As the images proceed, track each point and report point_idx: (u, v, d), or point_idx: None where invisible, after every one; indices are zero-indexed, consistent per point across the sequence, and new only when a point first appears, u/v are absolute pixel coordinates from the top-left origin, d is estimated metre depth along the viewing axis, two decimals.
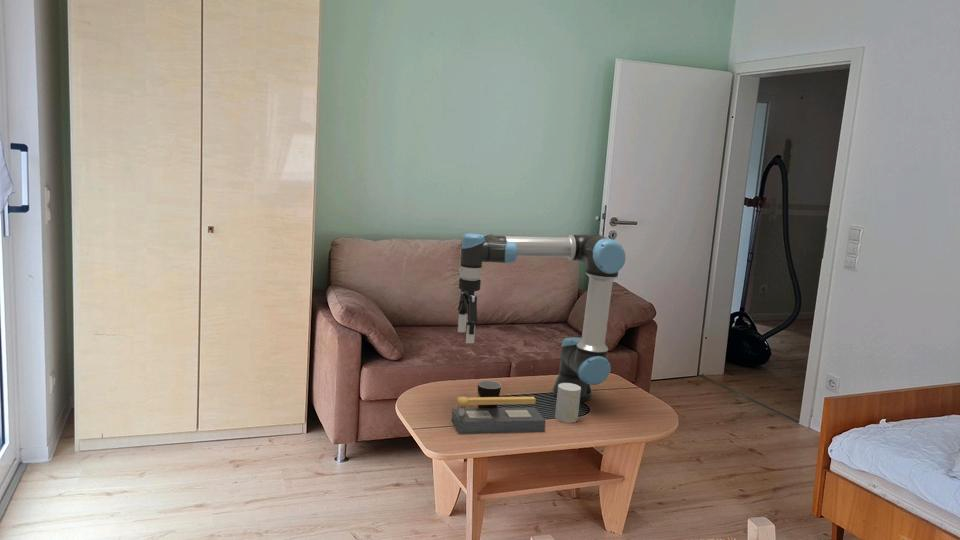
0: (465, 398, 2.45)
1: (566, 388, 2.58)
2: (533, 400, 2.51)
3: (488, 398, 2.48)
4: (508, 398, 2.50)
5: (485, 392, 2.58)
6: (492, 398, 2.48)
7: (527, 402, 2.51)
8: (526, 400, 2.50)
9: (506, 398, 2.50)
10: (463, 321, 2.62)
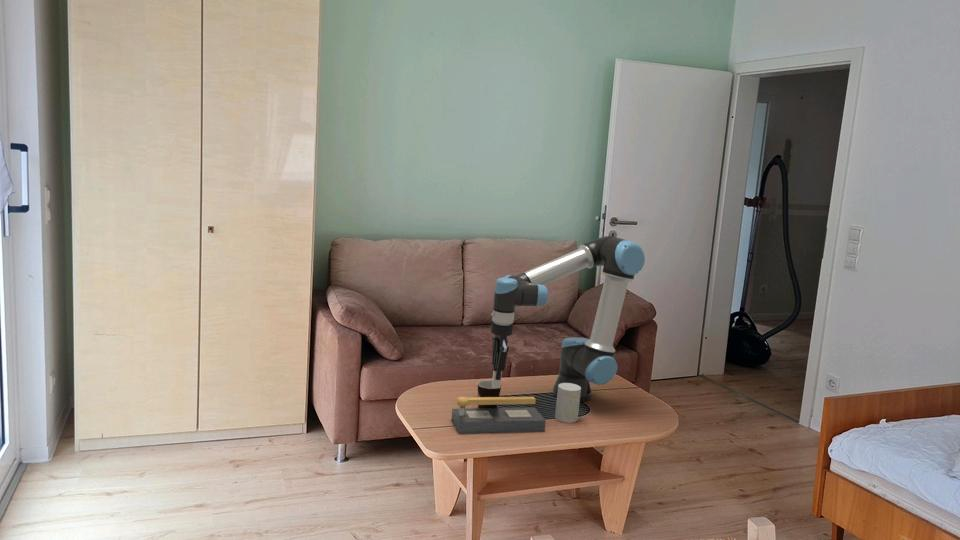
0: (465, 398, 2.45)
1: (566, 388, 2.58)
2: (533, 400, 2.51)
3: (488, 398, 2.48)
4: (508, 398, 2.50)
5: (485, 392, 2.58)
6: (492, 398, 2.48)
7: (527, 402, 2.51)
8: (526, 400, 2.50)
9: (506, 398, 2.50)
10: None
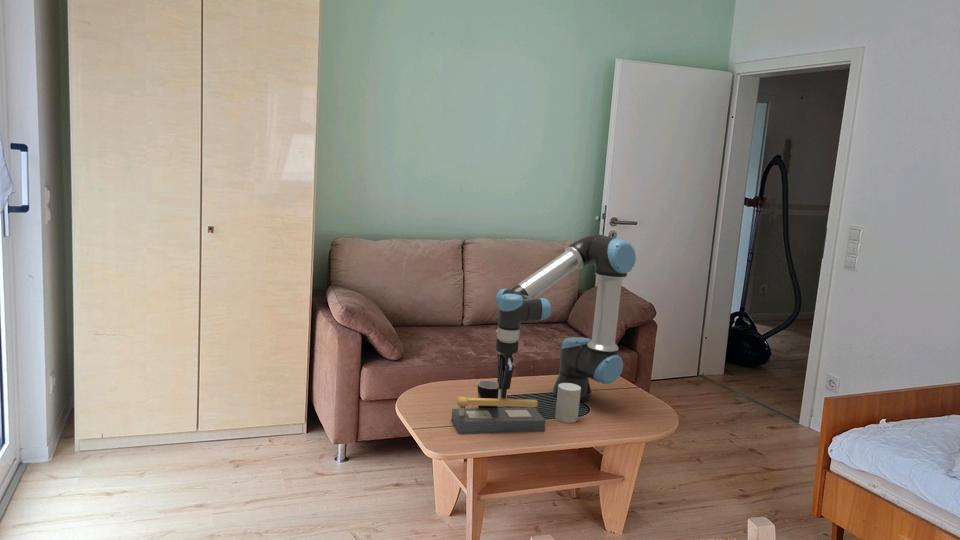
0: (465, 398, 2.45)
1: (566, 388, 2.58)
2: (535, 403, 2.48)
3: (489, 399, 2.47)
4: (509, 400, 2.48)
5: (485, 392, 2.58)
6: (493, 399, 2.47)
7: (529, 405, 2.48)
8: (528, 403, 2.48)
9: (507, 400, 2.48)
10: None
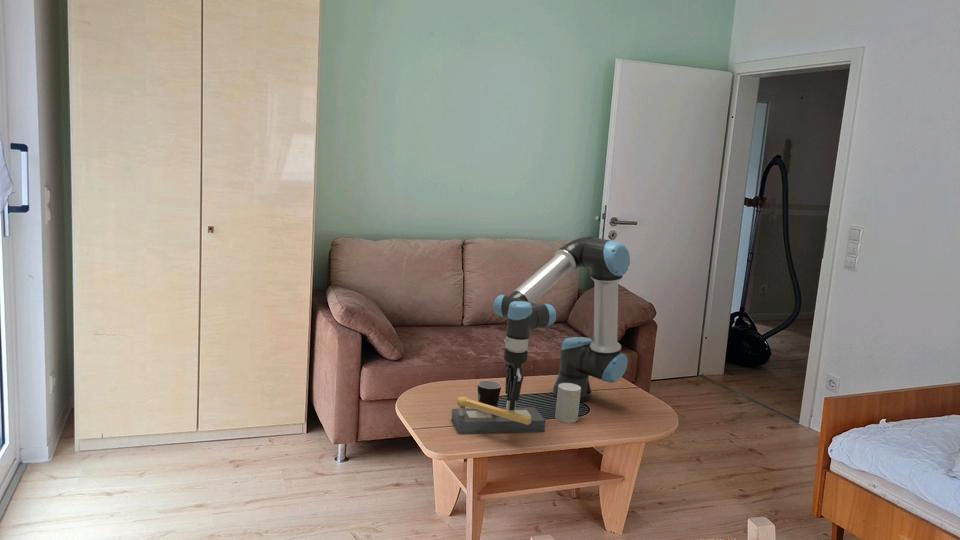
0: (463, 399, 2.45)
1: (566, 388, 2.58)
2: (526, 420, 2.33)
3: (485, 405, 2.41)
4: (503, 411, 2.38)
5: (485, 392, 2.58)
6: (489, 406, 2.41)
7: (520, 420, 2.34)
8: (519, 418, 2.34)
9: (501, 410, 2.38)
10: None
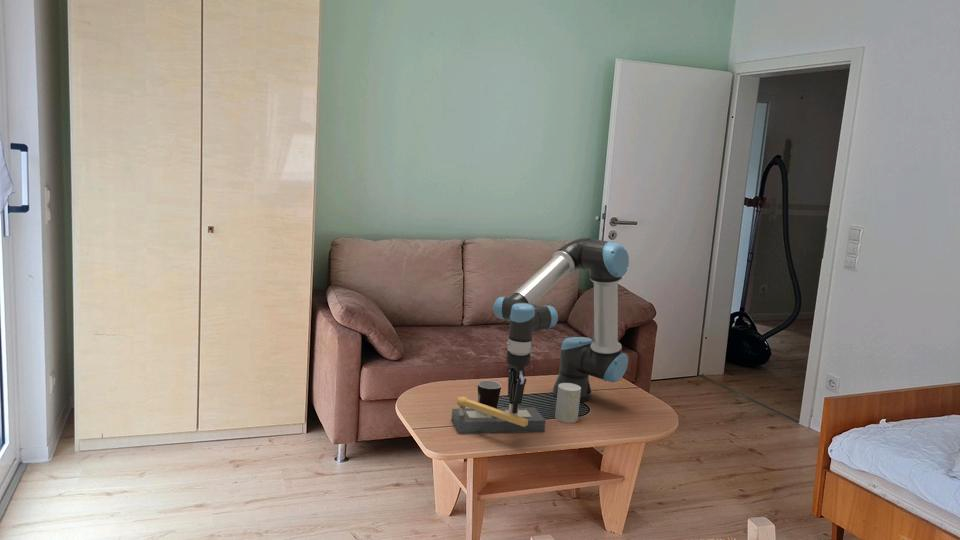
0: (463, 399, 2.45)
1: (566, 388, 2.58)
2: (522, 422, 2.31)
3: (484, 406, 2.41)
4: (501, 412, 2.37)
5: (485, 392, 2.58)
6: (487, 407, 2.40)
7: (516, 422, 2.32)
8: (515, 420, 2.32)
9: (499, 411, 2.37)
10: None
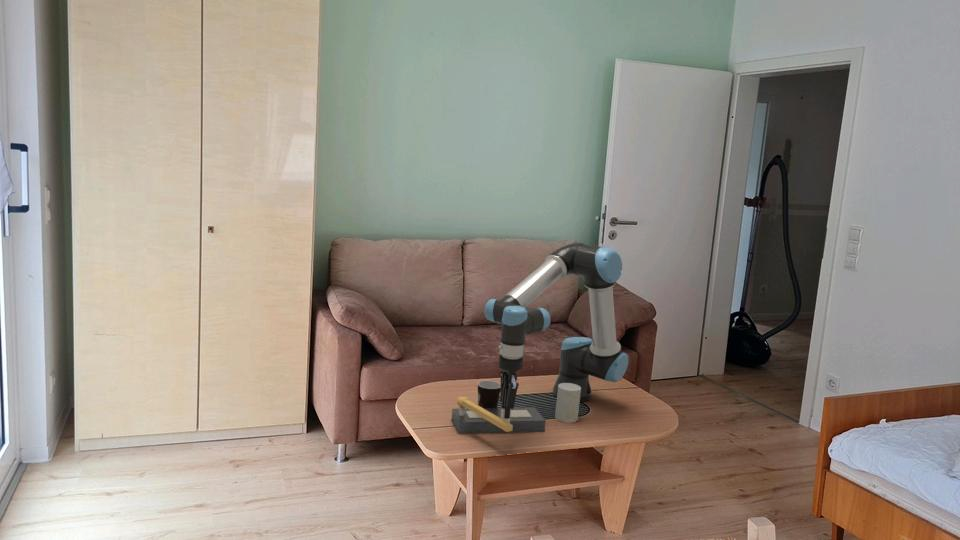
0: (462, 399, 2.45)
1: (566, 388, 2.58)
2: (505, 427, 2.26)
3: (478, 407, 2.39)
4: (490, 415, 2.33)
5: (485, 392, 2.58)
6: (480, 409, 2.38)
7: (501, 426, 2.28)
8: (500, 424, 2.28)
9: (489, 414, 2.34)
10: None
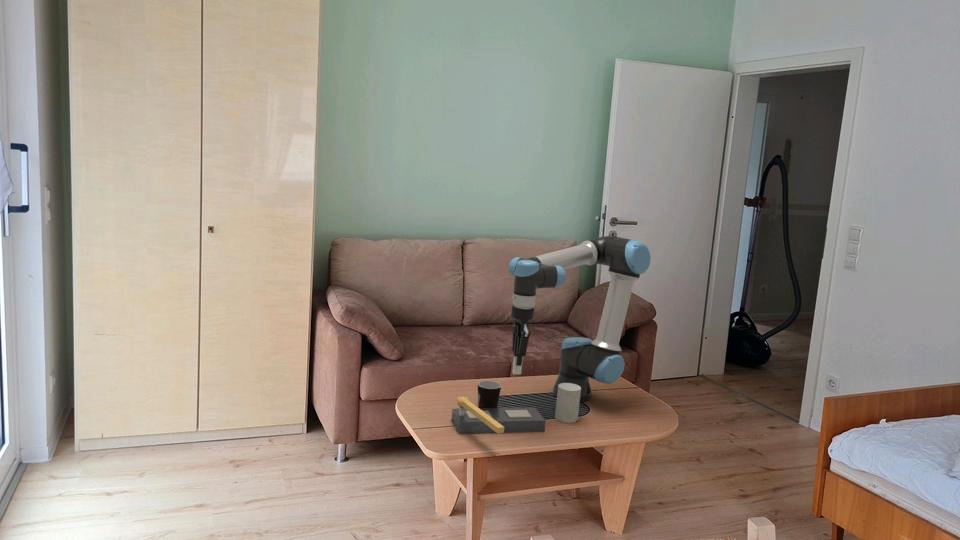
0: (462, 399, 2.45)
1: (566, 388, 2.58)
2: (496, 428, 2.24)
3: (475, 408, 2.38)
4: (485, 416, 2.32)
5: (485, 392, 2.58)
6: (477, 409, 2.37)
7: (493, 428, 2.26)
8: (492, 425, 2.26)
9: (484, 415, 2.33)
10: None
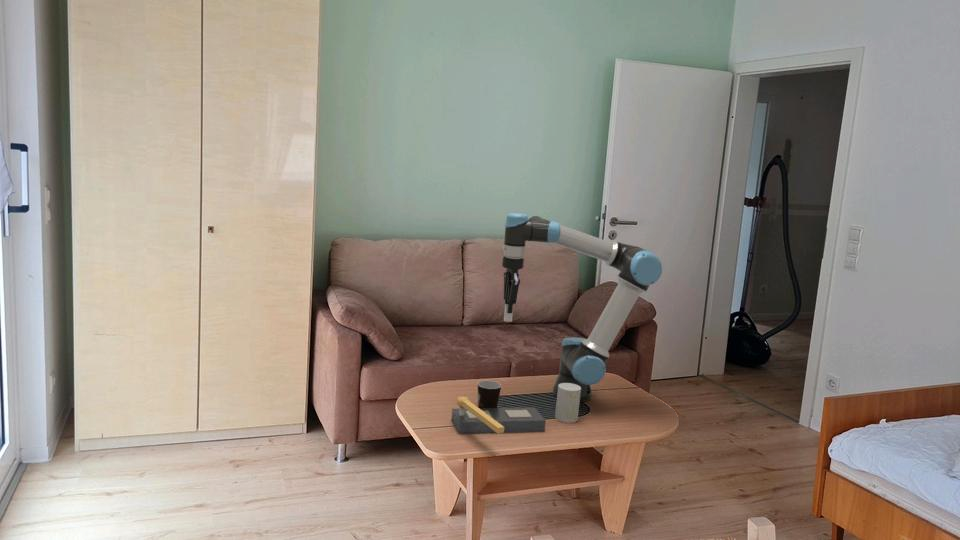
0: (462, 399, 2.45)
1: (566, 388, 2.58)
2: (496, 428, 2.24)
3: (475, 408, 2.38)
4: (485, 416, 2.32)
5: (485, 392, 2.58)
6: (477, 409, 2.37)
7: (493, 428, 2.26)
8: (492, 425, 2.26)
9: (484, 415, 2.33)
10: None
